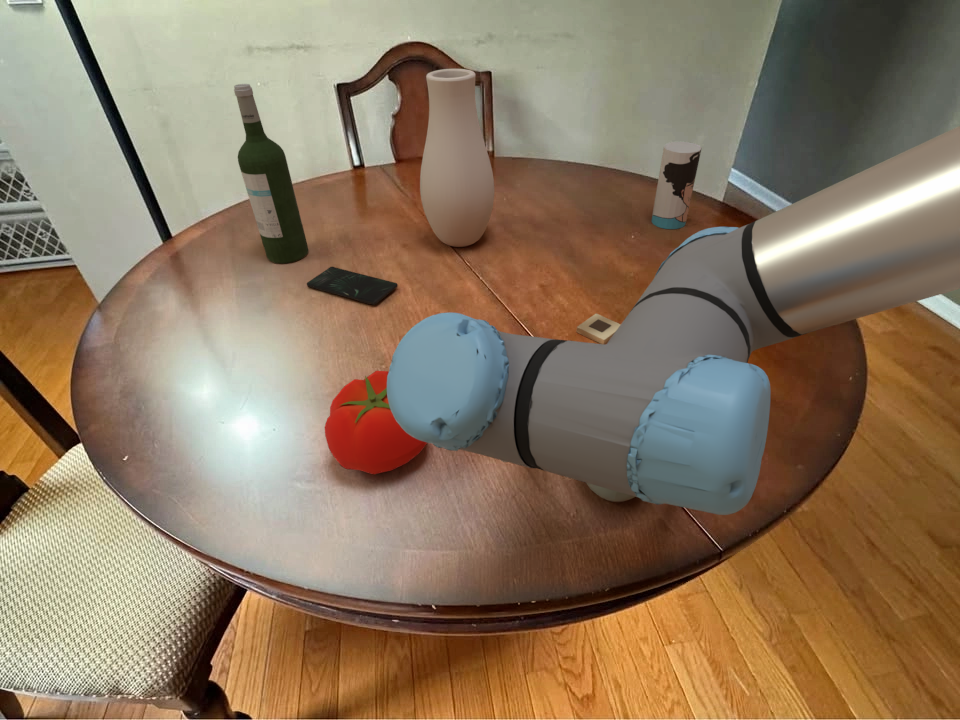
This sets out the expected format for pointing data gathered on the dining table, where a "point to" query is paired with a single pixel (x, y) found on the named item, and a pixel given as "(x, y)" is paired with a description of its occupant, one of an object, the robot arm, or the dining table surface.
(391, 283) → the smartphone
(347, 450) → the tomato
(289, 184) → the wine bottle
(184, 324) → the dining table surface
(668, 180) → the cup
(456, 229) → the vase
